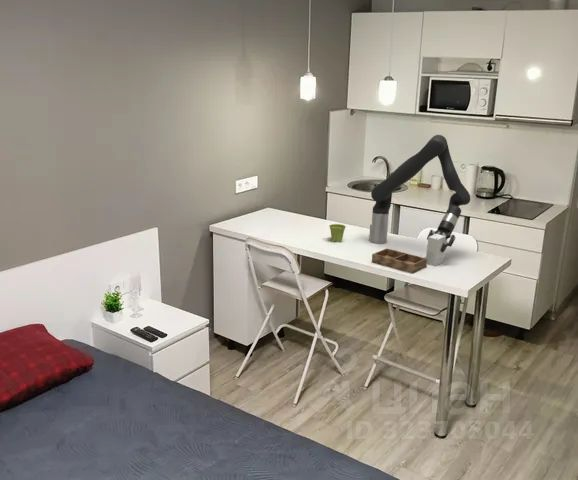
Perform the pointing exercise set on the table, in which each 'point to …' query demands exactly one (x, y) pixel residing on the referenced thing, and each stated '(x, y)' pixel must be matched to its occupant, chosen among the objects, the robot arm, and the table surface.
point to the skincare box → (435, 249)
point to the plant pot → (337, 232)
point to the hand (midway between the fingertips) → (435, 249)
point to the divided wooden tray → (399, 260)
